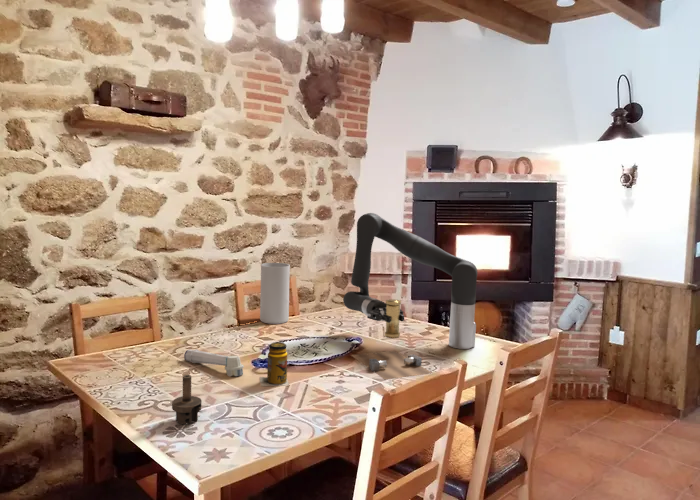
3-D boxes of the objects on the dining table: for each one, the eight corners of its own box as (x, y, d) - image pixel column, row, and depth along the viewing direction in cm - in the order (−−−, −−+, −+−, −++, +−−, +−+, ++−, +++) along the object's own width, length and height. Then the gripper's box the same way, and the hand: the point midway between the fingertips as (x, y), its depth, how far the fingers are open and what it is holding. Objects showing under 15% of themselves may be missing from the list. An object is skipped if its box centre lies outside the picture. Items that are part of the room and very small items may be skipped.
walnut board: (394, 352, 209) (394, 350, 208) (432, 374, 185) (432, 373, 185) (350, 356, 201) (350, 355, 201) (384, 381, 178) (384, 379, 178)
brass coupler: (395, 333, 206) (396, 298, 204) (402, 337, 201) (403, 301, 199) (382, 335, 204) (383, 299, 202) (389, 338, 199) (390, 303, 197)
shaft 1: (383, 366, 190) (384, 358, 190) (387, 370, 186) (387, 362, 185) (368, 367, 189) (369, 359, 188) (372, 371, 185) (372, 363, 184)
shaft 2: (412, 362, 196) (413, 354, 196) (421, 365, 192) (421, 357, 192) (401, 364, 193) (401, 356, 192) (410, 368, 189) (410, 360, 189)
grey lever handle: (194, 347, 193) (246, 352, 179) (195, 366, 193) (247, 373, 179) (181, 350, 189) (233, 356, 174) (183, 370, 189) (235, 377, 175)
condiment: (289, 385, 171) (290, 347, 170) (261, 386, 169) (261, 348, 168) (286, 377, 178) (287, 340, 177) (259, 378, 176) (260, 341, 175)
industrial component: (165, 422, 143) (165, 376, 141) (186, 412, 149) (186, 369, 147) (191, 431, 138) (191, 384, 136) (212, 421, 144) (213, 376, 143)
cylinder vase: (273, 315, 256) (274, 261, 253) (294, 320, 249) (295, 265, 246) (254, 320, 246) (254, 264, 243) (274, 325, 239) (276, 268, 236)
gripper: (358, 300, 211) (378, 310, 196) (391, 297, 217) (414, 307, 202) (357, 320, 212) (378, 331, 197) (390, 316, 218) (413, 327, 202)
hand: (396, 319), depth 199 cm, fingers closed on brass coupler, 4 cm apart
